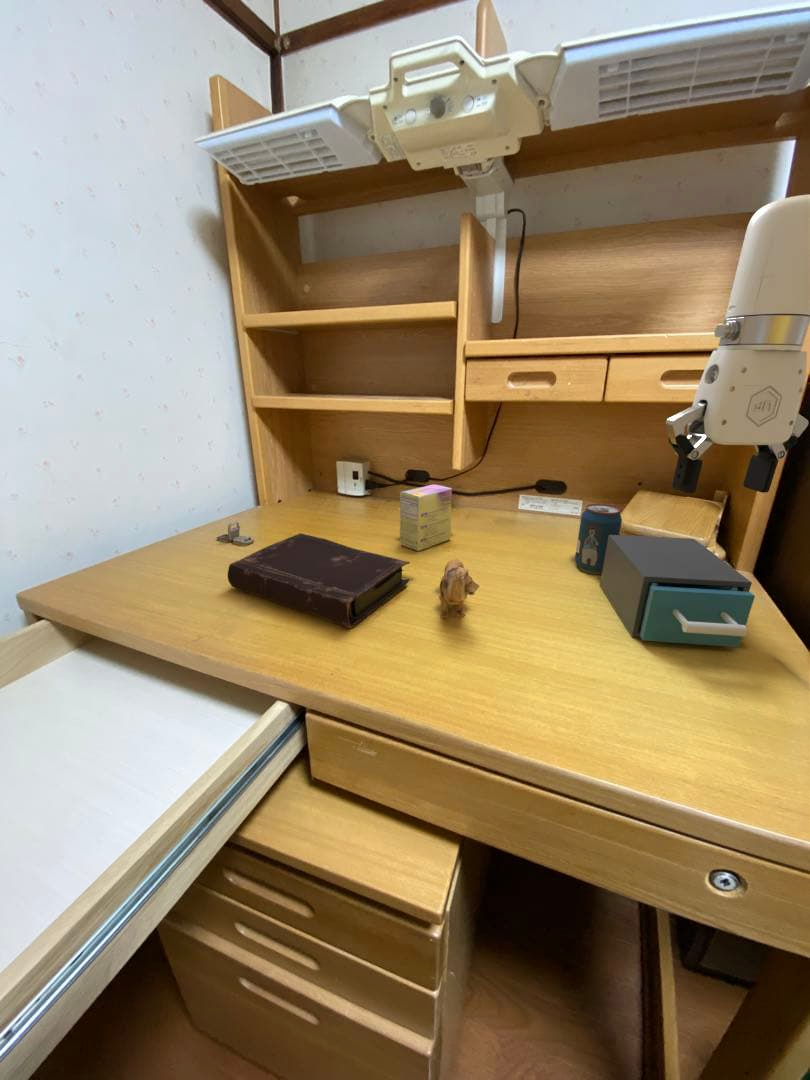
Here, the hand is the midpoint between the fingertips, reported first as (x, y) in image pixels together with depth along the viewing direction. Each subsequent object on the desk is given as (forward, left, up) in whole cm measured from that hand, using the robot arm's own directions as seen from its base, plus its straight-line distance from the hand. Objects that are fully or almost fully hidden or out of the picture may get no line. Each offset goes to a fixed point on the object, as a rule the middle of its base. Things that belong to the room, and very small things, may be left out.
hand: (719, 490), depth 56 cm
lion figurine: (+31, -7, -22) cm, 39 cm away
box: (+38, -35, -22) cm, 56 cm away
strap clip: (+79, -30, -22) cm, 87 cm away
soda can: (+5, -26, -22) cm, 34 cm away
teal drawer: (-1, -4, -21) cm, 22 cm away
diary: (+54, -11, -22) cm, 60 cm away
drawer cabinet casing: (-1, -10, -22) cm, 24 cm away
